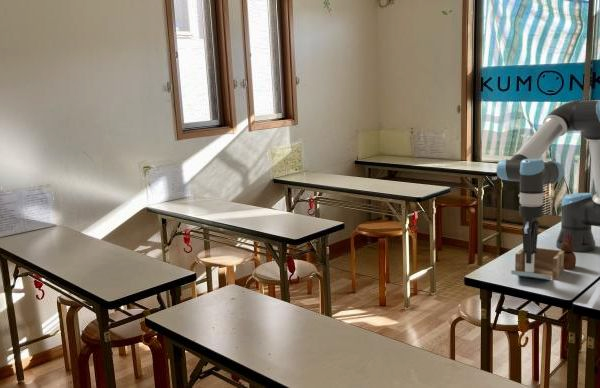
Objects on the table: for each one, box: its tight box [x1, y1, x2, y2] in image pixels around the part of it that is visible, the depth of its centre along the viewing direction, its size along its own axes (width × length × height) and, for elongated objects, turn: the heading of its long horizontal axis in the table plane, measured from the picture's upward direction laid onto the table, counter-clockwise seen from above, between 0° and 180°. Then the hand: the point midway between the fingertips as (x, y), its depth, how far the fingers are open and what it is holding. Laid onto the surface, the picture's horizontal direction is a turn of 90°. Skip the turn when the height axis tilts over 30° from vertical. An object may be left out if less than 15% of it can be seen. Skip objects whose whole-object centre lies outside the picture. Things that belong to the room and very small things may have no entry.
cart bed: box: [514, 247, 565, 281], centre depth 215 cm, size 13×14×9 cm
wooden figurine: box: [560, 233, 577, 270], centre depth 219 cm, size 7×6×15 cm
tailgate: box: [510, 270, 552, 281], centre depth 206 cm, size 1×11×10 cm
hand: (529, 271), depth 204 cm, fingers closed
